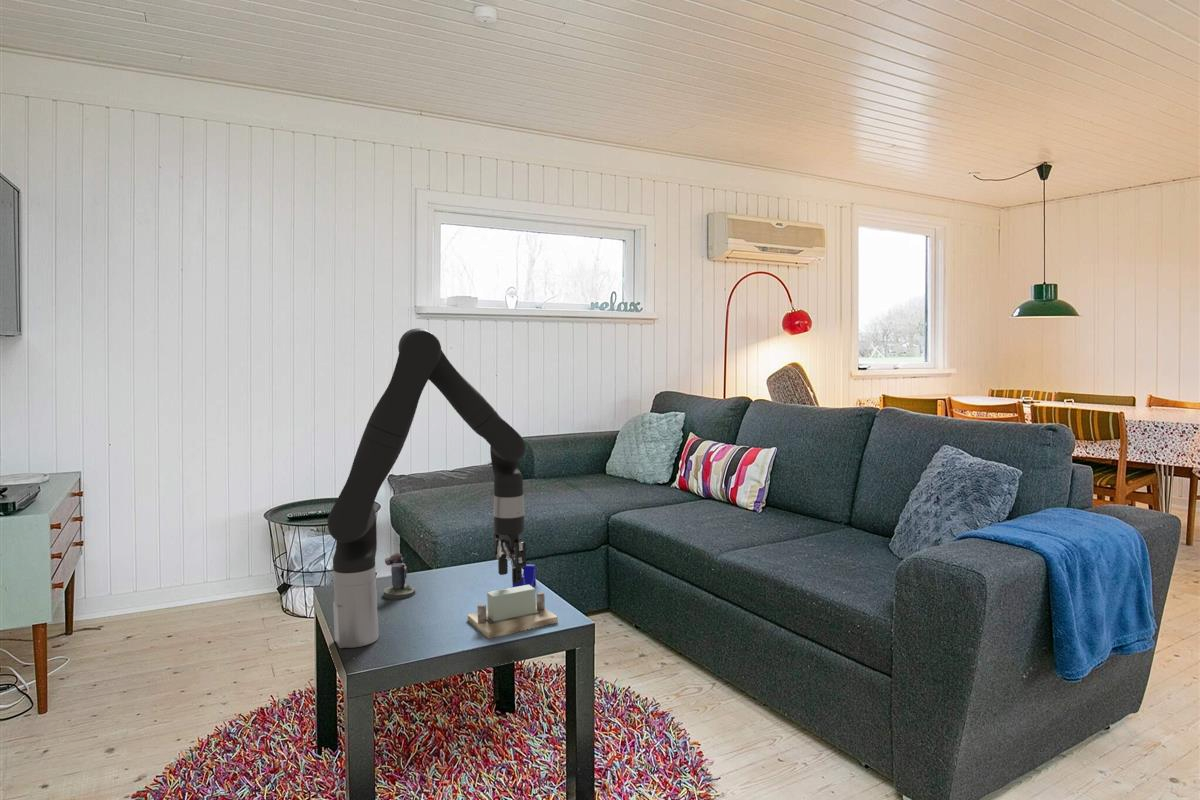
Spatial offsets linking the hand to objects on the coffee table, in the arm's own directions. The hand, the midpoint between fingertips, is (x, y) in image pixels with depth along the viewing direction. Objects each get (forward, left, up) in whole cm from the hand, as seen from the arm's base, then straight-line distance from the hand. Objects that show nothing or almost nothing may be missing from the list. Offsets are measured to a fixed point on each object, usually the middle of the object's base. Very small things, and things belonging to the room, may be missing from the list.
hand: (509, 578), depth 177 cm
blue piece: (+12, +20, -11) cm, 26 cm away
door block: (0, 0, -9) cm, 9 cm away
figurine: (-18, +37, -11) cm, 42 cm away
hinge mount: (0, 0, -11) cm, 11 cm away
